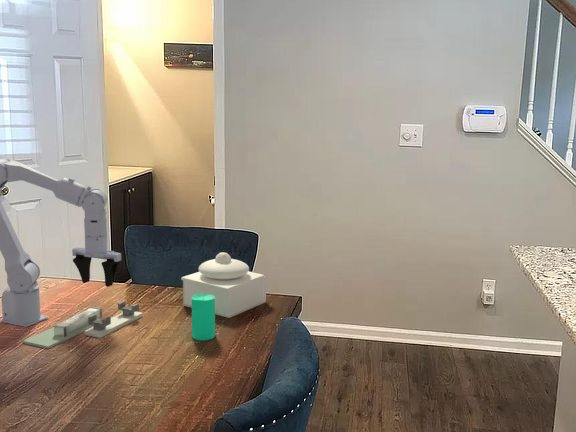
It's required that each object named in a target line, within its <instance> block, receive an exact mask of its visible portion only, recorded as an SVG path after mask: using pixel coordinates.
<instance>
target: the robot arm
mask: <svg viewBox="0 0 576 432" xmlns="http://www.w3.org/2000/svg"><path fill="white" fill-rule="evenodd" d="M19 181H20V182H21V181H23V182H27V183H29V184H32V185H35V186H37V187H40V188H43V189H44V190H45V189H46V190H48V191H51V192H52V193H53V194H54V197H55V198H56V199H58V200H61V201H64V202H66V203H68V204H71V205H73V206H76V207H78V208H81V207H82V209H83V211H84V218H83V219H84V220H83V221H84V222H83V223H84V224H83V225H84V227H83V228H84V247H75V248H72V250H71V251H72V256H73V257H74V258H72V262H73V263H74V266H75V267H76V268H77V271H78V272H79V275H80V278H81V281H82V283H83V284H86V283H88V282H90V280H91V279H90V278H91V263H92V258H93V259H101V260H104V261H102V262H101V267H102V269H103V272H104V284H105V287H107V288H109V287H111V286H113V284H114V279H115V277H116V276H115V275H116V273H117V270H118V268H119V266H120V264H121V261H122V253H121V252H116V251H114V250H110V249H108V228H107V227H108V222H107V220H108V219H107V211H106V206H107V203H108V197H107V195H106V193H104V191H102V190H101V189H99V188H93V186H91V185H84V184H81V183H79V182H76V181H75V178H72V177H69V178H67V177H63V178H60V179H57V178H55V177H53V176H50V175H48V174H46V173H43V172H41V171H40V170H37V169H35V168H32V167H30V166H28V165H26V164H24V163H21V162H19V161H17V160H13V159H12V160H11V159H9V158H7V157H3V156H2V157H1V156H0V194H1V193H2V190H3V189H4V186H5V185H6V184H7V183H13V182H19ZM0 253H1V256H2V257H3V259H4V270H5V272H6V276H7V277H6V283H7V286H8V287H6V288H5V289H4V290H3V292H2V295H1V312H2V313H1V314H2V319H0V322H1V323H5V324H9V325H15V326H20V327H24V328H27V327H29V326H32V325H35V324H37V323H40V322H42V321H44V320H47V319H49V316H47V315H44V314H42V313H41V300H40V299H41V298H40V297H41V296H40V285H39V283H38V282H37V280H38V279H39V277H40V274H41V270H40V267H39V265H38V264H37V263H36V262H34V260H33V259H32V258H31V256H30V254H29V253H27V252H26V251H25V250H24V247H23V246H22V244H21V241H20V240H19V238H18V235H17V232H16V230H15V229H14V227H13V225H12V223H11V221H10V218H9V216H8V213H7V212H6V210H5V208H4V205H3V204H2V201H1V200H0Z"/></svg>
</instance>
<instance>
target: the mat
mask: <svg viewBox="0 0 576 432" xmlns="http://www.w3.org/2000/svg"><path fill="white" fill-rule="evenodd" d="M91 327H93V324H88V325H86V326H84V327H83V328H81V329H79V330H77V331H75V332H73V333H71V334H69V335H68V336H66V337H59V336H54V326H53V327H51V328H49V329H46V330H44V331H42V332H40V333H37V334H35V335H32V336H31V337H28V338H26V339H24V340H22V343H23V344H25V345H29V346H34V347H39V348H43V349H48V350H49V349H51V348H53V347H55V346H57V345H59V344H61V343H63V342H66V341H68V340H70V339H72V338H73V337H76V336H79V335H80V334H82V333H84V331H85V330H87V329H89V328H91Z"/></svg>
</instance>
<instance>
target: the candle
mask: <svg viewBox="0 0 576 432" xmlns="http://www.w3.org/2000/svg"><path fill="white" fill-rule="evenodd" d="M215 336H216V314H215V297H214V296H213V295H206V294H204V291H203V294H197V295H194V296H192V308H191V338H193V339H194V340H197V341H209V340H212V339H214V338H215Z"/></svg>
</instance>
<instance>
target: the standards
mask: <svg viewBox="0 0 576 432" xmlns="http://www.w3.org/2000/svg"><path fill="white" fill-rule="evenodd" d="M117 309H118V311H122V312H121V313H118V314H117V315H115V316H113V317H111V316H107V317H105V318H103V319H101V318H99V319H97V314H93V315H91V316H89V317H88V324H89V325H93V327H91V328H89V329H87V330H85V331H84V332H83V333H84V335H85V336H88V337H89V336H90V337H94V338H99V339H100V338H102V337H105V336H107V335H109V334H111V333H112V332H115V331H117V330H119V329H120V328H123V327H124V326H126V325H129V324H131V323H132V322H134V321H136V320H138V319H140V318H142V317H143V315H144V313H143V312H140V311H139V310H140V304H139V303H135V304H132V305H131V306H130V305H127V304H126V301H125V300H123V301H121V302H118V303H117Z"/></svg>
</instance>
